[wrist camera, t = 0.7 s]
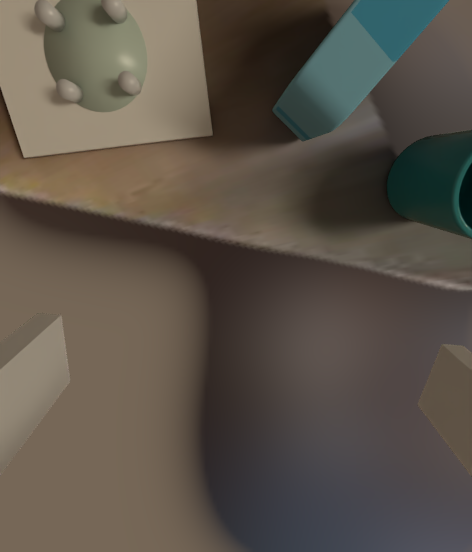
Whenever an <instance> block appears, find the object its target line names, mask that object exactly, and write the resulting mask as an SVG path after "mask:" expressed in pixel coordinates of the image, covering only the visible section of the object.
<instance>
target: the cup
mask: <svg viewBox="0 0 472 552" xmlns="http://www.w3.org/2000/svg"><path fill="white" fill-rule="evenodd" d="M387 195H388V199H389V202H390V204H391V206H392V207H393V209H394V210H395V211H396V212H397V213H398V214H399V215H400V216H402V217H404V218H406V219H408V220H411V221H414V222H417V223H421V224H424V225H427V226H430V227H434V228H437V229H440V230H443V231H447V232H450V233H453V234H456V235H460V236H463V237H466V238H470V239H472V130H466V131H460V132H454V133H446V134H440V135H434V136H429V137H425V138H423V139H420V140H418V141H416V142H414V143H413V144H411V145H410V146H408V147H407V148H406V149H405V150H404V151H403V152H402V153H401V154H400V155H399V156H398V157H397V159H396V160H395V162H394V163H393V165H392V167H391V170H390V172H389V175H388V180H387Z"/></svg>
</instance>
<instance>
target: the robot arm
mask: <svg viewBox="0 0 472 552" xmlns="http://www.w3.org/2000/svg"><path fill="white" fill-rule="evenodd" d="M69 382H70V376H69V369H68V361H67V354H66V346H65V338H64V331H63V324H62V316H61V315H56V314H43V313H37V314H36V315H35V316H33V317H32V318H31V319H30V320H28V321H27V322H26V323H24V324H23V325H22V326H21V327H19V328H18V329H17V330H15V331H14V332H13V333H12V334H10V335H9V336H8V337H7V338H6V339H4V340H3V341H2V342H0V475H1V474H2V473H3V471H4V470H5V469H6V467H7V465H8V464H9V463H10V462H11V460H12V459H13V458H14V456H15V455H16V454H17V452H18V451H19V450H20V448H21V447H22V446H23V444H24V443H25V442H26V440H27V439H28V437H29V436H30V435H31V433H32V432H33V431H34V429H35V428H36V427H37V425H38V424H39V423H40V421H41V420H42V419H43V417H44V416H45V415H46V413H47V412H48V410H49V409H50V408H51V406H52V405H53V404H54V402H55V401H56V400H57V398H58V397H59V395H60V394H61V393H62V391H63V390H64V389H65V387H66V386H67V385H68V383H69ZM418 406H419V408H420V409H421V410H422V411H423V412H424V414H425V415H426V417H427V418H428V419H429V421H430V422H431V423H432V425H433V426H434V427H435V429H436V430H437V431H438V432H439V434H440V435H441V437H442V438H443V439H444V441H445V442H446V443H447V445H448V446H449V447H450V449H451V450H452V451H453V453H454V454H455V455H456V457H457V458H458V459H459V461H460V462H461V463H462V465H463V466H464V467H465V469H466V470H467V471H468V472H469V474H470V475H471V476H472V353H471V352H470V351H469V350H467V349H466V348H465V347H464V346H459V345H446V344H442V345H441V348H440V350H439V353H438V355H437V358H436V360H435V362H434V365H433V367H432V370H431V372H430V375H429V378H428V380H427V382H426V385H425V387H424V390H423V392H422V395H421V397H420V400H419V402H418Z"/></svg>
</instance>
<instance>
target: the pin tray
mask: <svg viewBox="0 0 472 552" xmlns="http://www.w3.org/2000/svg"><path fill="white" fill-rule="evenodd" d="M0 87H1V90H2V93H3V96H4V99H5V102H6V105H7V108H8V111H9V114H10V117H11V120H12V123H13V126H14V129H15V132H16V135H17V138H18V141H19V144H20V147H21V150H22V153H23V156H24V158H34V157H42V156H51V155H59V154H67V153H75V152H84V151H92V150H100V149H108V148H117V147H125V146H133V145H141V144H150V143H158V142H166V141H174V140H183V139H191V138H199V137H207V136H213V130H212V122H211V114H210V106H209V98H208V90H207V82H206V74H205V66H204V58H203V50H202V42H201V34H200V26H199V18H198V10H197V2H196V0H0Z"/></svg>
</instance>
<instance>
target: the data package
mask: <svg viewBox="0 0 472 552" xmlns="http://www.w3.org/2000/svg"><path fill="white" fill-rule="evenodd" d="M448 1H449V0H354V1H353V3H352V4H351V5H350V7H349V8H348V9H347V11H346V12H345V13H344V14H343V15H342V17H341V18H340V19H339V21H338V22H337V23H336V25H335V26H334V27H333V28H332V30H331V31H330V32H329V33H328V35H327V36H326V37H325V39H324V40H323V41H322V42H321V44H320V45H319V46H318V48H317V49H316V50H315V51H314V53H313V54H312V55H311V57H310V58H309V59H308V60H307V62H306V63H305V64H304V66H303V67H302V68H301V69H300V71H299V72H298V73H297V75H296V76H295V77H294V79H293V80H292V81H291V83H290V84H289V85H288V87H287V88H286V90H285V91H284V93H283V94H282V96H281V97H280V98H279V100H278V101H277V103H276V104H275V106H274V107H273V109H272V111H273V113H274V114H275V115H276V116H277V117H278V118H279V119H280V120H281V121H282V122H283V123H284V124H285V125H286V126H287V127H288V128H289V129H290V130H291V131H292V132H293V133H294V134H295V135H296V136H297V137H298V138H299V139H300V140H301V141H306V140H309V139H312V138H314V137H317V136H320V135H323V134H326V133H329V132H331V131H333V130H334V129H336V128H337V127H338V126H339V125H340V124H341V123H342V122H344V121H345V120H346V119H347V117H348V116H349V115H350V114H351V113H352V112H353V111H354V110H355V109H356V107H357V106H358V105H359V104H360V103H361V102H362V100H363V99H364V98H365V97H366V96H367V95H368V94H369V92H370V91H371V90H372V89H373V88H374V87H375V85H376V84H377V83H378V82H379V81H380V80H381V79H382V77H383V76H384V75H385V74H386V73H387V72H388V70H389V69H390V68H391V67H392V66H393V65H394V63H395V62H396V61H397V60H398V59H399V58H400V57H401V55H402V54H403V53H404V52H405V51H406V50H407V49H408V47H409V46H410V45H411V44H412V43H413V42H414V40H415V39H416V38H417V37H418V36H419V35H420V34H421V32H422V31H423V30H424V29H425V28H426V27H427V25H428V24H429V23H430V22H431V21H432V20H433V19H434V17H435V16H436V15H437V14H438V13H439V12H440V10H441V9H442V8H443V7H444V6H445V4H447V2H448Z"/></svg>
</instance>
